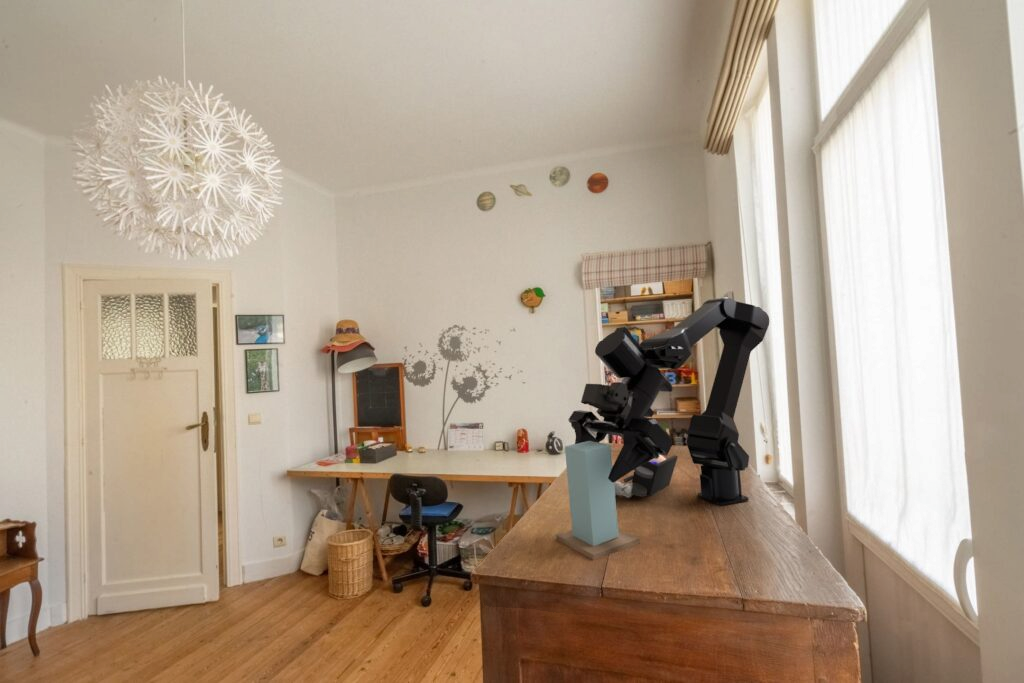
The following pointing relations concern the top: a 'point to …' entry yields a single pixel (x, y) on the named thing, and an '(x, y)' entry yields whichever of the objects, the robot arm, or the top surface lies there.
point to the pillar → (591, 492)
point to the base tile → (600, 549)
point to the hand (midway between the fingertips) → (590, 474)
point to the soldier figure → (623, 489)
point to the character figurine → (652, 476)
